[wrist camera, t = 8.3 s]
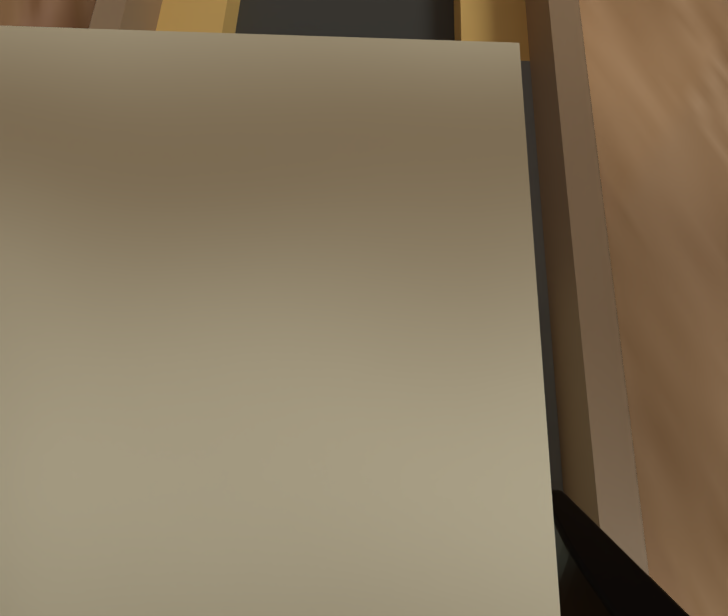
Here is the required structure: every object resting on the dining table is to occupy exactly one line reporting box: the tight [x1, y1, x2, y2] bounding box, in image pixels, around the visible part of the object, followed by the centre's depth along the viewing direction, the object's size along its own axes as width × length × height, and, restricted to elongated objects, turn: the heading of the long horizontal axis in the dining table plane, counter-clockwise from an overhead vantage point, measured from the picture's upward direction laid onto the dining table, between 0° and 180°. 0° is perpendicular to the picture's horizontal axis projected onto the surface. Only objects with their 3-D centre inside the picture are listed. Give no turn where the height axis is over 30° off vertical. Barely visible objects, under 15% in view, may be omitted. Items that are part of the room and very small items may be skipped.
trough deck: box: [89, 0, 649, 575], centre depth 17 cm, size 27×16×4 cm, turn 178°
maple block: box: [0, 26, 561, 616], centre depth 9 cm, size 6×6×10 cm
